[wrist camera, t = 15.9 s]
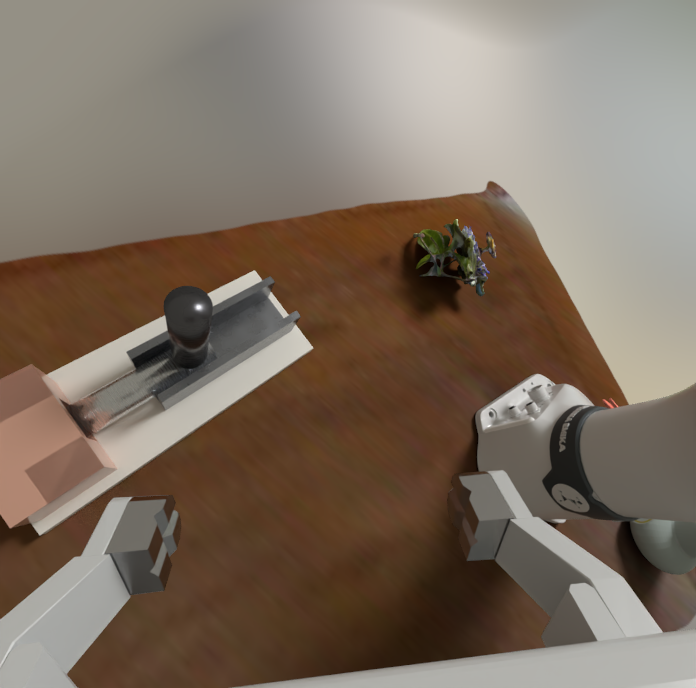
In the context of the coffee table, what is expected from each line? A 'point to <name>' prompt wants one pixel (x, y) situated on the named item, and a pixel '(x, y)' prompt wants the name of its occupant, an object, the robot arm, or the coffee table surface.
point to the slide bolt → (154, 363)
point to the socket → (42, 449)
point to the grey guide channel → (225, 338)
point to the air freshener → (666, 543)
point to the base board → (151, 418)
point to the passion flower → (467, 254)
